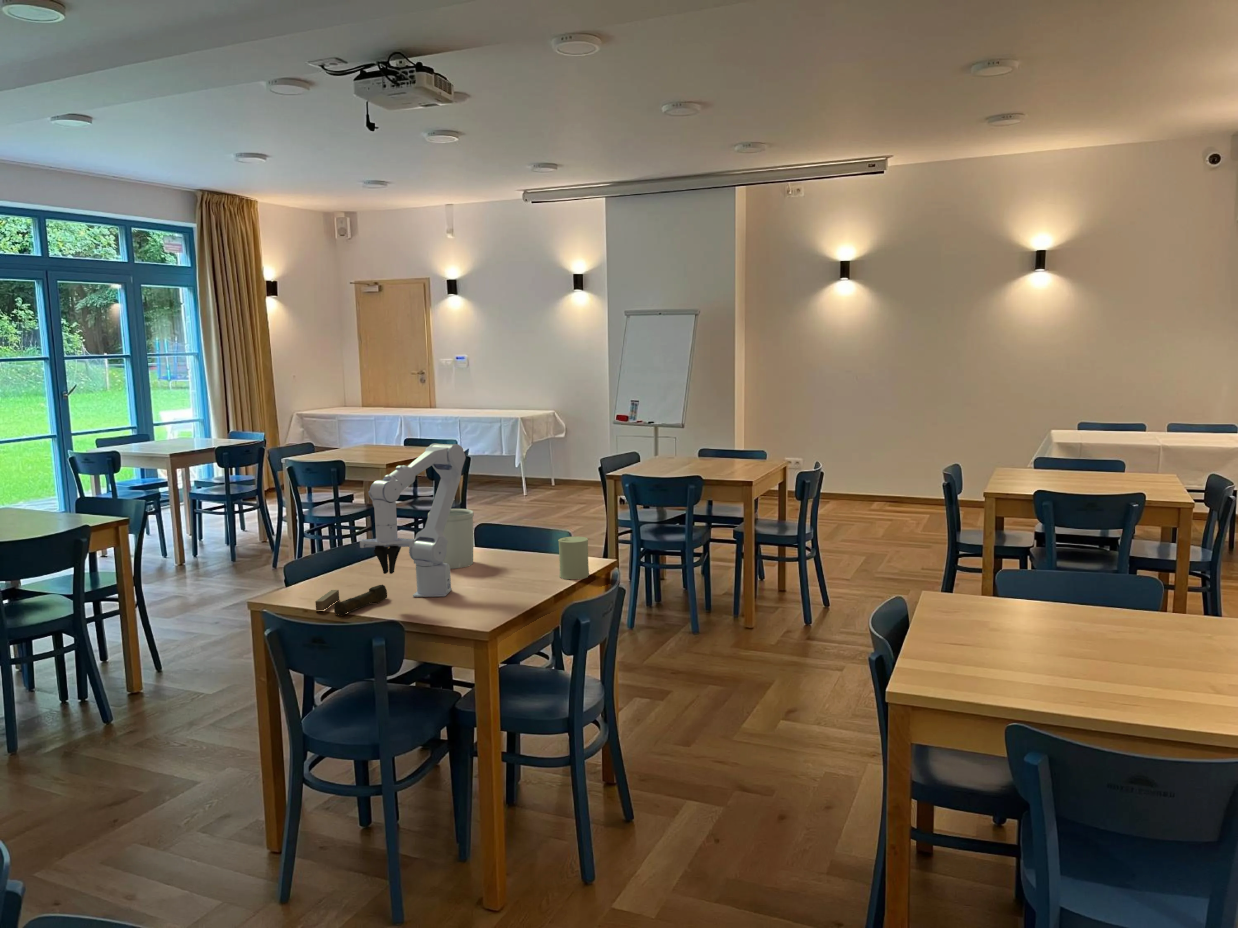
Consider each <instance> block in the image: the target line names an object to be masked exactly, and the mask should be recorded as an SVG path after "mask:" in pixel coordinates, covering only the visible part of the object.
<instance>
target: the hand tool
mask: <svg viewBox="0 0 1238 928" xmlns="http://www.w3.org/2000/svg"><path fill="white" fill-rule="evenodd" d="M387 598H388V591H387V588H386V585H384V584H378V585H376V586H371V587H370V588H368V591H367V592H364V593H361V594H359V595H355V596H354V597H350V598H348V599H345V600H342V601H338V602H336V603H335V604H334V605H333V610H334V611H333V612H334V614H335V615H336V614H337V615H336V616H340V617H342V616H341V615H344V616H345V615H347V614H346V613H347V612H349V613H350V611H351V612H352V611H355V610H359V609H361V608H363V607H365V606H368V605H370V604H372V603H377V604H380V603H382V602H383V601H385V600H386V599H387ZM381 601H382V602H381ZM338 614H339V615H338Z"/></svg>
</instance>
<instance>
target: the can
mask: <svg viewBox="0 0 1238 928" xmlns="http://www.w3.org/2000/svg"><path fill="white" fill-rule="evenodd" d="M557 541H558V553H559V555H558V557H559V558H558V560H559V578H560V577H561V578H560V579H562V578H563V579H562V580H567V579H578V580H583V579H587V578H589V577H590V572H589V571H590V568H589V539H588V537H585V536H564V537H561V538H559V539H558V540H557ZM588 576H589V577H588Z"/></svg>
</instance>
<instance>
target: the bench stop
mask: <svg viewBox="0 0 1238 928" xmlns="http://www.w3.org/2000/svg"><path fill="white" fill-rule="evenodd" d="M338 600H339V601H340V590H339V589H331V590H329V591H328V592H327V593H325V594H324V595H322V596H321V597H320V598H318V599H316V601H315V602H314V603H315V611H316V610H324V609H326V608H328V607H329V606H330V605H332V604H333V603H335V602H336V601H338ZM339 601H338V602H339ZM332 606H333V605H332ZM328 609H329V608H328Z"/></svg>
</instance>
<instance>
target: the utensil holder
mask: <svg viewBox="0 0 1238 928" xmlns="http://www.w3.org/2000/svg"><path fill="white" fill-rule="evenodd" d="M429 513H430V511H429V512H428V513H427V517H428V516H429ZM443 534H444V536H445V537H446V539H447V540H448V543H447V553H446V557H445V559H444V561H443V563H447V564H449V566H450V570H452V569H453V570H455V569H464V568H467V567H470V566H472V565H473V564H474V510H471V509H467V508H451V510H450V513H449V516H448V519H447V522H446V526H445V529H444V532H443Z"/></svg>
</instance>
